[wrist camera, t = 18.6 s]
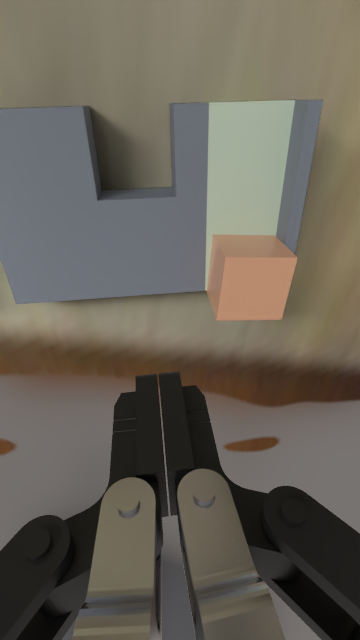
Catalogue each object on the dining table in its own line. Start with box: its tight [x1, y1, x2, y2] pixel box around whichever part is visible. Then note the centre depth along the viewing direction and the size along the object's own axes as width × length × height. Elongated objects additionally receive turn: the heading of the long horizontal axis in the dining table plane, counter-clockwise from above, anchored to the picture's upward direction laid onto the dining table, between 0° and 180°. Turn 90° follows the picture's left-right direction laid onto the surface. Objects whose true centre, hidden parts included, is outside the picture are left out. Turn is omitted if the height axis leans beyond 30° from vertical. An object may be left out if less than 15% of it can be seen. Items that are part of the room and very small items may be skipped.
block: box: [207, 234, 298, 321], centre depth 23 cm, size 4×4×4 cm
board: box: [0, 100, 323, 304], centre depth 22 cm, size 12×32×5 cm, turn 91°
